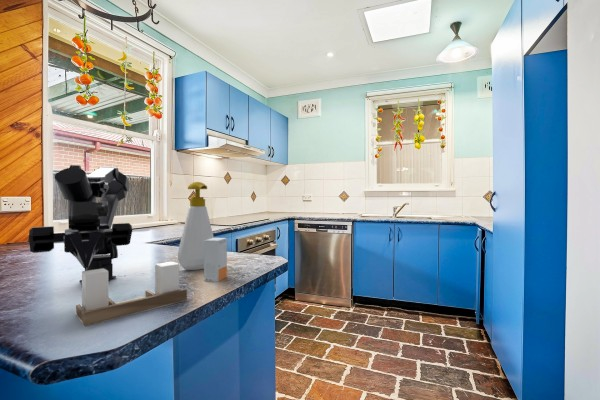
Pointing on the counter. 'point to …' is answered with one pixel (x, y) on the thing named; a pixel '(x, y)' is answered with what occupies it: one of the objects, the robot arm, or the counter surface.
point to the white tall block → (95, 289)
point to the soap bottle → (195, 231)
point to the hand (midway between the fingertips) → (86, 266)
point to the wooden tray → (129, 306)
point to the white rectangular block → (166, 277)
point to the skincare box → (215, 259)
